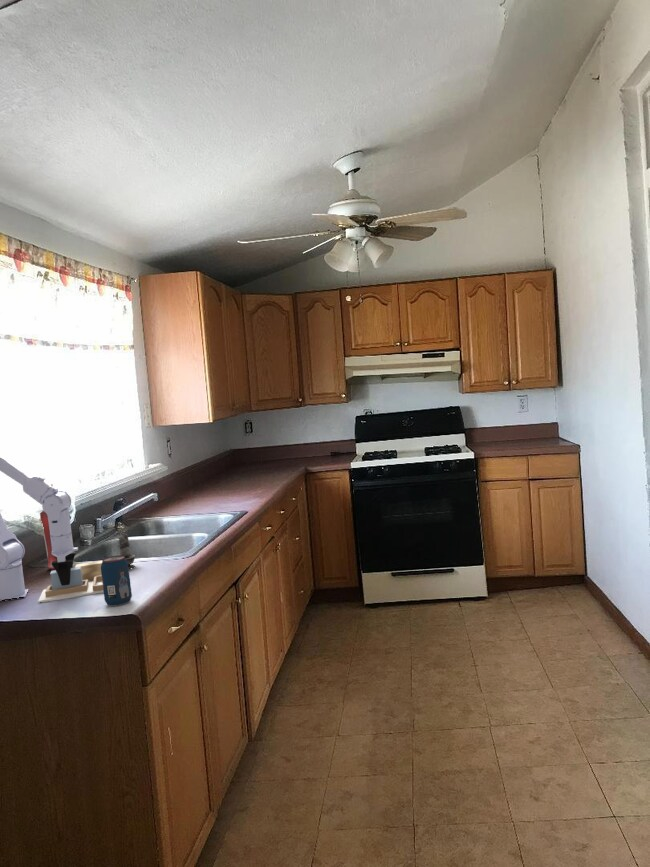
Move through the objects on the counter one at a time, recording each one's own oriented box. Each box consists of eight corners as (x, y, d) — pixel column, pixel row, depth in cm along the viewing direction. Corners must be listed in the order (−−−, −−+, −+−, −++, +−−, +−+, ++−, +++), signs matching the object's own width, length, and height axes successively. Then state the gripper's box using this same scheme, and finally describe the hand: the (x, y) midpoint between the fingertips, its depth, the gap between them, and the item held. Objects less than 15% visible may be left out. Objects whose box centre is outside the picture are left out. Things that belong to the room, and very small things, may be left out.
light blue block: (52, 594, 200) (50, 573, 200) (54, 591, 204) (51, 570, 203) (82, 589, 202) (80, 569, 202) (83, 586, 206) (80, 566, 205)
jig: (38, 603, 195) (37, 595, 195) (43, 591, 207) (42, 584, 207) (117, 590, 201) (116, 582, 200) (118, 579, 213) (117, 572, 213)
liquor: (56, 565, 241) (46, 483, 239) (75, 564, 239) (64, 482, 237) (42, 571, 234) (31, 487, 232) (61, 570, 232) (50, 485, 230)
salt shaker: (129, 564, 231) (124, 528, 230) (140, 566, 227) (135, 529, 226) (113, 569, 226) (109, 532, 225) (124, 571, 222) (120, 533, 222)
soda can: (112, 599, 191) (107, 555, 191) (136, 598, 190) (131, 554, 190) (100, 607, 185) (94, 562, 184) (125, 606, 183) (120, 560, 183)
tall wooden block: (77, 583, 213) (75, 567, 213) (77, 580, 217) (76, 564, 216) (108, 578, 216) (106, 562, 215) (108, 575, 219) (106, 559, 219)
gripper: (73, 537, 196) (80, 585, 197) (77, 528, 210) (83, 573, 211) (46, 541, 194) (53, 589, 195) (52, 531, 208) (58, 577, 209)
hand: (66, 581), depth 203 cm, fingers open, 7 cm apart
